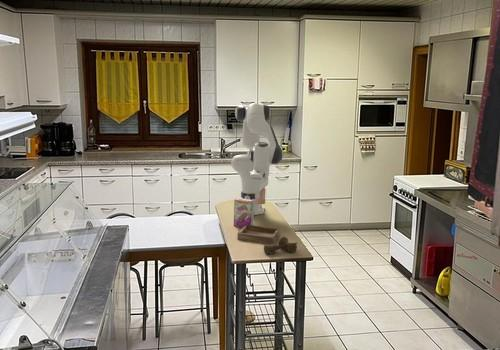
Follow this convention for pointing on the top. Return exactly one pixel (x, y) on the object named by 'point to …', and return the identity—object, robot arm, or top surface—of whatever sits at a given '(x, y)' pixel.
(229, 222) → the top surface
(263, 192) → the peach rounded capsule
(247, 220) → the candy bar box
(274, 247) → the kendama
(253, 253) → the top surface
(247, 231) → the tray
